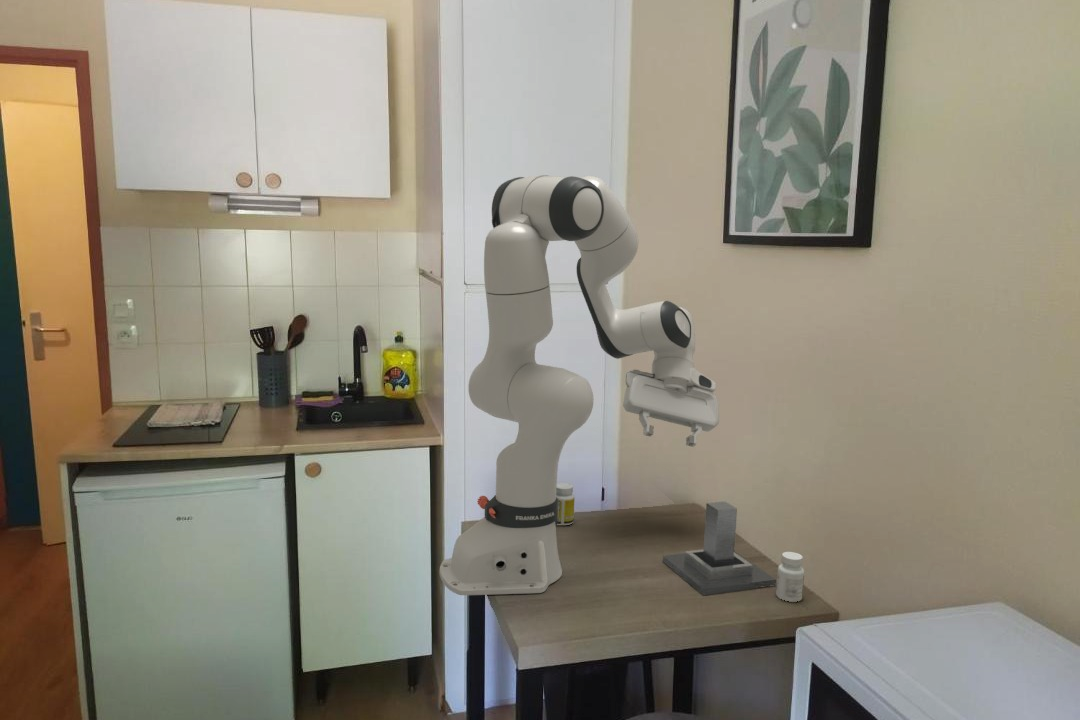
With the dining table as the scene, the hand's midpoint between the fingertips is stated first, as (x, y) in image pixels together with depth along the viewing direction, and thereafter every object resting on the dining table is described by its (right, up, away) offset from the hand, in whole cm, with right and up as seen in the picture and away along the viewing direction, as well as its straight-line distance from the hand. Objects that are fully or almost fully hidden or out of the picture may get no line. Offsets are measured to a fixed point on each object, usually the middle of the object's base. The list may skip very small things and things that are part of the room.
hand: (669, 440), depth 153 cm
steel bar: (+7, -23, -11) cm, 26 cm away
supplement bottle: (-21, -20, +13) cm, 32 cm away
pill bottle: (+18, -26, -19) cm, 37 cm away
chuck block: (+7, -24, -10) cm, 27 cm away
